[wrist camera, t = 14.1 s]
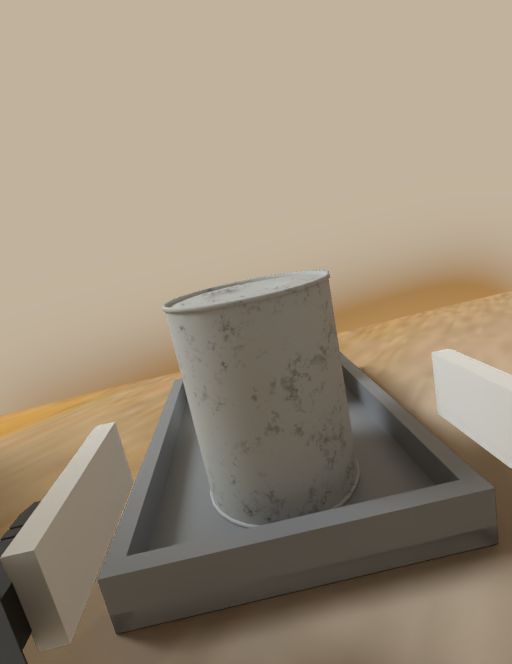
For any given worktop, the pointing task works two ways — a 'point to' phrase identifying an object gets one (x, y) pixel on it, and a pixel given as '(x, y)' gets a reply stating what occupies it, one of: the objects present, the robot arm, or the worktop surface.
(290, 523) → the tote tray
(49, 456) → the worktop surface
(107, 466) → the robot arm
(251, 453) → the speckled grey can
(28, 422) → the worktop surface
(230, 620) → the worktop surface
